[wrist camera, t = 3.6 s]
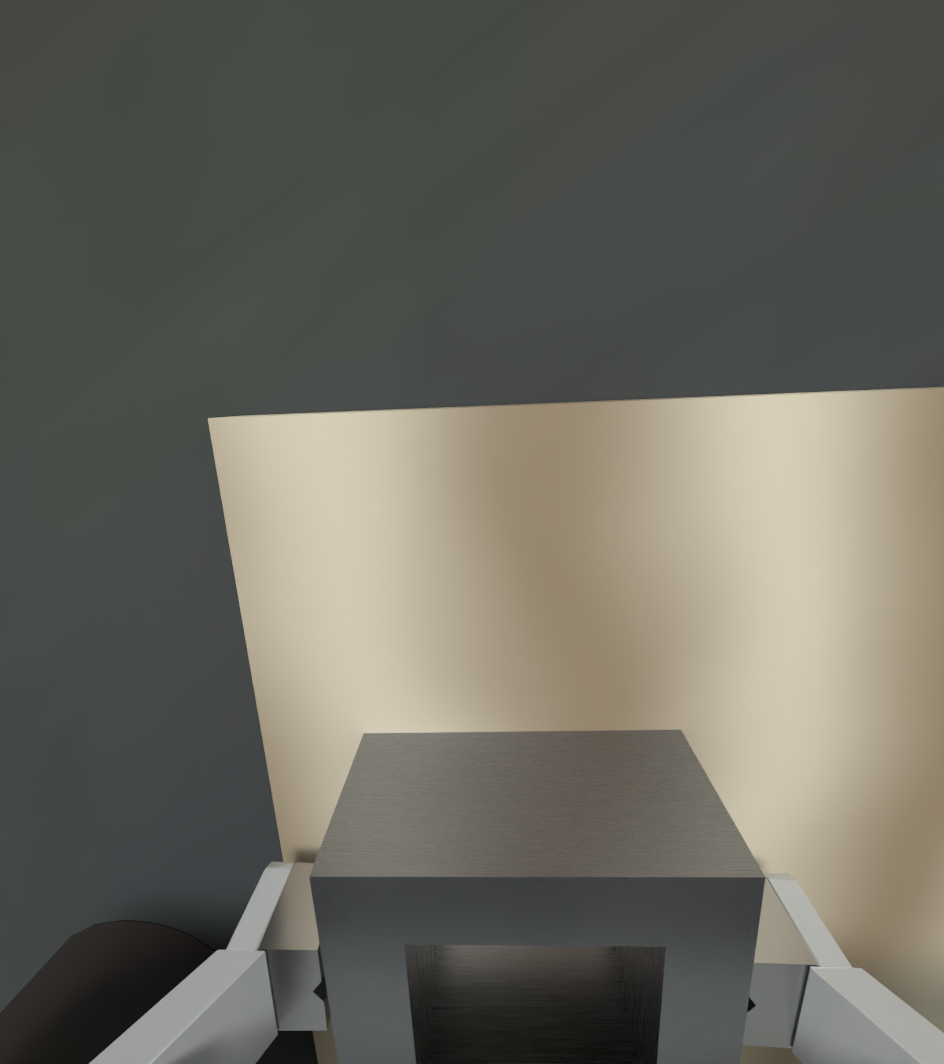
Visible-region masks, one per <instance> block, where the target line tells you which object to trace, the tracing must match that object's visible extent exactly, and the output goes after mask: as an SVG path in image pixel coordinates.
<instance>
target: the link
mask: <svg viewBox="0 0 944 1064" xmlns="http://www.w3.org/2000/svg"><path fill="white" fill-rule="evenodd" d="M765 878H766V877H765V876H764V874H763V872H762V870H761V869H760V867H759V865H758V863H757V862H756V860H755V858H754V856H753V855H752V853H751V851H750V849H749V848H748V846H747V844H746V842H745V841H744V839H743V837H742V835H741V834H740V832H739V830H738V828H737V827H736V825H735V823H734V821H733V820H732V818H731V816H730V814H729V813H728V811H727V809H726V807H725V806H724V804H723V802H722V800H721V799H720V797H719V795H718V793H717V792H716V790H715V788H714V787H713V785H712V783H711V781H710V780H709V778H708V776H707V774H706V773H705V771H704V769H703V767H702V766H701V764H700V762H699V760H698V759H697V757H696V755H695V753H694V752H693V750H692V748H691V746H690V745H689V743H688V741H687V739H686V738H685V736H684V734H683V732H682V731H681V730H605V731H520V732H434V733H364V734H363V736H362V739H361V742H360V744H359V747H358V749H357V752H356V755H355V757H354V760H353V763H352V765H351V768H350V770H349V773H348V776H347V778H346V781H345V784H344V786H343V789H342V792H341V794H340V797H339V799H338V802H337V805H336V807H335V810H334V813H333V815H332V818H331V821H330V823H329V826H328V828H327V831H326V834H325V836H324V839H323V842H322V844H321V847H320V850H319V852H318V855H317V857H316V860H315V863H314V865H313V868H312V871H311V873H310V876H309V879H310V885H311V892H312V898H313V904H314V911H315V917H316V924H317V930H318V936H319V943H320V949H321V956H322V962H323V968H324V975H325V981H326V988H327V994H328V1001H329V1007H330V1013H331V1020H332V1026H333V1033H334V1039H335V1045H336V1052H337V1058H338V1064H740V1059H741V1052H742V1045H743V1037H744V1030H745V1023H746V1016H747V1008H748V1001H749V994H750V987H751V979H752V972H753V965H754V957H755V950H756V943H757V936H758V928H759V921H760V914H761V907H762V899H763V892H764V885H765Z"/></svg>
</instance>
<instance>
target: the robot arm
mask: <svg viewBox="0 0 944 1064" xmlns="http://www.w3.org/2000/svg"><path fill="white" fill-rule="evenodd" d="M313 865H314V863H300V862H297V863H295V862H271V863H270V864H269V865H268V866H267V867H266V868H265V870H264V872H263V874H262V876H261V878H260V880H259V882H258V884H257V886H256V888H255V890H254V892H253V894H252V896H251V898H250V901H249V903H248V905H247V907H246V909H245V911H244V913H243V915H242V917H241V919H240V921H239V923H238V925H237V927H236V930H235V932H234V934H233V936H232V938H231V940H230V942H229V944H228V946H227V948H226V950H217V951H216V952H214V953H213V954H212V955H211V956H210V957H209V958H208V959H207V960H205V961H204V962H203V963H202V964H201V965H200V966H199V967H197V968H196V969H195V970H194V971H193V972H192V973H191V974H190V975H188V976H187V977H186V978H185V979H184V980H183V981H182V982H181V983H179V984H178V985H177V986H176V987H175V988H174V989H173V990H172V991H170V992H169V993H168V994H167V995H166V996H165V997H164V998H162V999H161V1000H160V1001H159V1002H158V1003H157V1004H156V1005H155V1006H153V1007H152V1008H151V1009H150V1010H149V1011H148V1012H147V1013H146V1014H144V1015H143V1016H142V1017H141V1018H140V1019H139V1020H138V1021H136V1022H135V1023H134V1024H133V1025H132V1026H131V1027H130V1028H129V1029H127V1030H126V1031H125V1032H124V1033H123V1034H122V1035H121V1036H120V1037H118V1038H117V1039H116V1040H115V1041H114V1042H113V1043H112V1044H110V1045H109V1046H108V1047H107V1048H106V1049H105V1050H104V1051H103V1052H101V1053H100V1054H99V1055H98V1056H97V1057H96V1058H95V1059H94V1060H92V1061H91V1062H90V1063H89V1064H256V1062H257V1061H258V1060H259V1058H260V1057H261V1056H262V1055H263V1053H264V1052H265V1051H266V1049H267V1048H268V1047H269V1045H270V1044H271V1043H272V1042H273V1040H274V1039H275V1038H276V1036H277V1035H278V1031H327V1029H328V1026H329V1022H330V1018H331V1013H330V1007H329V1001H328V994H327V988H326V981H325V975H324V968H323V962H322V956H321V949H320V943H319V936H318V930H317V924H316V917H315V911H314V904H313V898H312V892H311V885H310V879H309V876H310V873H311V871H312V868H313ZM763 874H764V876H765V877H766V878H765V885H764V892H763V899H762V907H761V914H760V921H759V928H758V936H757V943H756V950H755V957H754V965H753V972H752V979H751V987H750V994H749V1001H748V1008H747V1016H746V1023H745V1030H744V1037H743V1045H749V1046H763V1047H778V1048H793V1049H792V1052H793V1054H794V1055H795V1056H796V1057H797V1058H798V1059H799V1061H800V1062H801V1063H802V1064H944V1033H943V1032H942V1031H940V1030H939V1029H938V1028H937V1027H935V1026H934V1025H933V1024H932V1023H930V1022H929V1021H928V1020H927V1019H925V1018H924V1017H923V1016H922V1015H920V1014H919V1013H918V1012H916V1011H915V1010H914V1009H913V1008H911V1007H910V1006H909V1005H908V1004H906V1003H905V1002H904V1001H903V1000H901V999H900V998H899V997H898V996H896V995H895V994H894V993H892V992H891V991H890V990H889V989H887V988H886V987H885V986H884V985H882V984H881V983H880V982H879V981H877V980H876V979H875V978H874V977H872V976H871V975H870V974H868V973H867V972H866V971H865V970H863V969H862V968H853V967H852V966H851V964H850V963H849V961H848V960H847V958H846V957H845V955H844V953H843V952H842V950H841V949H840V947H839V946H838V944H837V943H836V941H835V940H834V938H833V936H832V935H831V933H830V932H829V930H828V929H827V927H826V926H825V924H824V922H823V921H822V919H821V918H820V916H819V915H818V913H817V912H816V910H815V909H814V907H813V905H812V904H811V902H810V901H809V899H808V898H807V896H806V895H805V893H804V891H803V890H802V888H801V887H800V885H799V884H798V882H797V881H796V879H795V878H794V877H793V876H791V875H790V874H789V873H763Z"/></svg>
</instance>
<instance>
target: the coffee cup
mask: <svg viewBox="0 0 944 1064" xmlns="http://www.w3.org/2000/svg"><path fill="white" fill-rule="evenodd" d="M214 952H215V951H213V950H212V949H210V948H209V947H207V946H205V945H204V944H202V943H201V942H199V941H198V940H196V939H194V938H193V937H191V936H190V935H188V934H185V933H182V932H179V931H176V930H173V929H171V928H168V927H165V926H162V925H159V924H154V923H145V922H136V921H127V920H124V921H117V922H110V923H103V924H96V925H93V926H91V927H89V928H87V929H85V930H83V931H81V932H79V933H77V934H75V935H73V936H71V937H70V938H69V939H68V940H67V941H66V942H65V943H64V945H63V946H62V947H61V948H60V949H59V950H58V951H57V952H56V953H55V954H54V955H53V956H52V958H51V959H50V960H49V961H48V962H47V963H46V964H45V965H44V966H43V967H42V968H41V970H40V971H39V972H38V973H37V974H36V975H35V976H34V977H33V978H32V979H31V980H30V981H29V983H28V984H27V985H26V986H25V987H24V988H23V989H22V990H21V991H20V992H19V993H18V994H17V996H16V997H15V998H14V999H13V1000H12V1001H11V1002H10V1003H9V1004H8V1005H7V1006H6V1007H5V1009H4V1010H3V1011H2V1012H1V1013H0V1064H89V1063H90V1062H91V1061H92V1060H94V1059H95V1058H96V1057H97V1056H98V1055H99V1054H100V1053H101V1052H103V1051H104V1050H105V1049H106V1048H107V1047H108V1046H109V1045H110V1044H112V1043H113V1042H114V1041H115V1040H116V1039H117V1038H118V1037H120V1036H121V1035H122V1034H123V1033H124V1032H125V1031H126V1030H127V1029H129V1028H130V1027H131V1026H132V1025H133V1024H134V1023H135V1022H136V1021H138V1020H139V1019H140V1018H141V1017H142V1016H143V1015H144V1014H146V1013H147V1012H148V1011H149V1010H150V1009H151V1008H152V1007H153V1006H155V1005H156V1004H157V1003H158V1002H159V1001H160V1000H161V999H162V998H164V997H165V996H166V995H167V994H168V993H169V992H170V991H172V990H173V989H174V988H175V987H176V986H177V985H178V984H179V983H181V982H182V981H183V980H184V979H185V978H186V977H187V976H188V975H190V974H191V973H192V972H193V971H194V970H195V969H196V968H197V967H199V966H200V965H201V964H202V963H203V962H204V961H205V960H207V959H208V958H209V957H210V956H211V955H212V954H213V953H214Z"/></svg>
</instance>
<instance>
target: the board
mask: <svg viewBox="0 0 944 1064" xmlns="http://www.w3.org/2000/svg"><path fill="white" fill-rule="evenodd" d="M208 423H209V429H210V434H211V440H212V446H213V452H214V458H215V464H216V470H217V475H218V481H219V487H220V493H221V499H222V505H223V510H224V516H225V522H226V528H227V534H228V540H229V546H230V551H231V557H232V563H233V569H234V575H235V581H236V587H237V592H238V598H239V604H240V610H241V616H242V622H243V628H244V633H245V639H246V645H247V651H248V657H249V663H250V668H251V674H252V680H253V686H254V692H255V698H256V704H257V709H258V715H259V721H260V727H261V733H262V739H263V745H264V750H265V756H266V762H267V768H268V774H269V780H270V785H271V791H272V797H273V803H274V809H275V815H276V821H277V826H278V832H279V838H280V844H281V850H282V856H283V862H295V863H297V862H300V863H315V860H316V857H317V855H318V852H319V850H320V847H321V844H322V842H323V839H324V836H325V834H326V831H327V828H328V826H329V823H330V821H331V818H332V815H333V813H334V810H335V807H336V805H337V802H338V799H339V797H340V794H341V792H342V789H343V786H344V784H345V781H346V778H347V776H348V773H349V770H350V768H351V765H352V763H353V760H354V757H355V755H356V752H357V749H358V747H359V744H360V742H361V739H362V736H363V734H364V733H434V732H520V731H605V730H681V731H682V732H683V734H684V736H685V738H686V739H687V741H688V743H689V745H690V746H691V748H692V750H693V752H694V753H695V755H696V757H697V759H698V760H699V762H700V764H701V766H702V767H703V769H704V771H705V773H706V774H707V776H708V778H709V780H710V781H711V783H712V785H713V787H714V788H715V790H716V792H717V793H718V795H719V797H720V799H721V800H722V802H723V804H724V806H725V807H726V809H727V811H728V813H729V814H730V816H731V818H732V820H733V821H734V823H735V825H736V827H737V828H738V830H739V832H740V834H741V835H742V837H743V839H744V841H745V842H746V844H747V846H748V848H749V849H750V851H751V853H752V855H753V856H754V858H755V860H756V862H757V863H758V865H759V867H760V869H761V870H762V872H763V873H789V874H790V875H791V876H793V877H794V878H795V879H796V881H797V882H798V884H799V885H800V887H801V888H802V890H803V891H804V893H805V895H806V896H807V898H808V899H809V901H810V902H811V904H812V905H813V907H814V909H815V910H816V912H817V913H818V915H819V916H820V918H821V919H822V921H823V922H824V924H825V926H826V927H827V929H828V930H829V932H830V933H831V935H832V936H833V938H834V940H835V941H836V943H837V944H838V946H839V947H840V949H841V950H842V952H843V953H844V955H845V957H846V958H847V960H848V961H849V963H850V964H851V966H852V967H853V968H862V969H863V970H865V971H866V972H867V973H868V974H870V975H871V976H872V977H874V978H875V979H876V980H877V981H879V982H880V983H881V984H882V985H884V986H885V987H886V988H887V989H889V990H890V991H891V992H892V993H894V994H895V995H896V996H898V997H899V998H900V999H901V1000H903V1001H904V1002H905V1003H906V1004H908V1005H909V1006H910V1007H911V1008H913V1009H914V1010H915V1011H916V1012H918V1013H919V1014H920V1015H922V1016H923V1017H924V1018H925V1019H927V1020H928V1021H929V1022H930V1023H932V1024H933V1025H934V1026H935V1027H937V1028H938V1029H939V1030H940V1031H942V1032H943V1033H944V387H928V388H903V389H879V390H855V391H831V392H806V393H782V394H758V395H734V396H709V397H685V398H661V399H637V400H612V401H588V402H564V403H540V404H515V405H491V406H467V407H443V408H418V409H394V410H370V411H346V412H322V413H297V414H273V415H249V416H232V417H218V418H208ZM313 1037H314V1043H315V1049H316V1055H317V1060H318V1064H338V1058H337V1052H336V1045H335V1039H334V1033H333V1026H332V1020H331V1018H330V1022H329V1026H328V1029H327V1031H313ZM792 1049H793V1048H778V1047H763V1046H749V1045H742V1052H741V1059H740V1064H802V1063H801V1062H800V1061H799V1059H798V1058H797V1057H796V1056H795V1055H794V1054H793V1052H792Z"/></svg>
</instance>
